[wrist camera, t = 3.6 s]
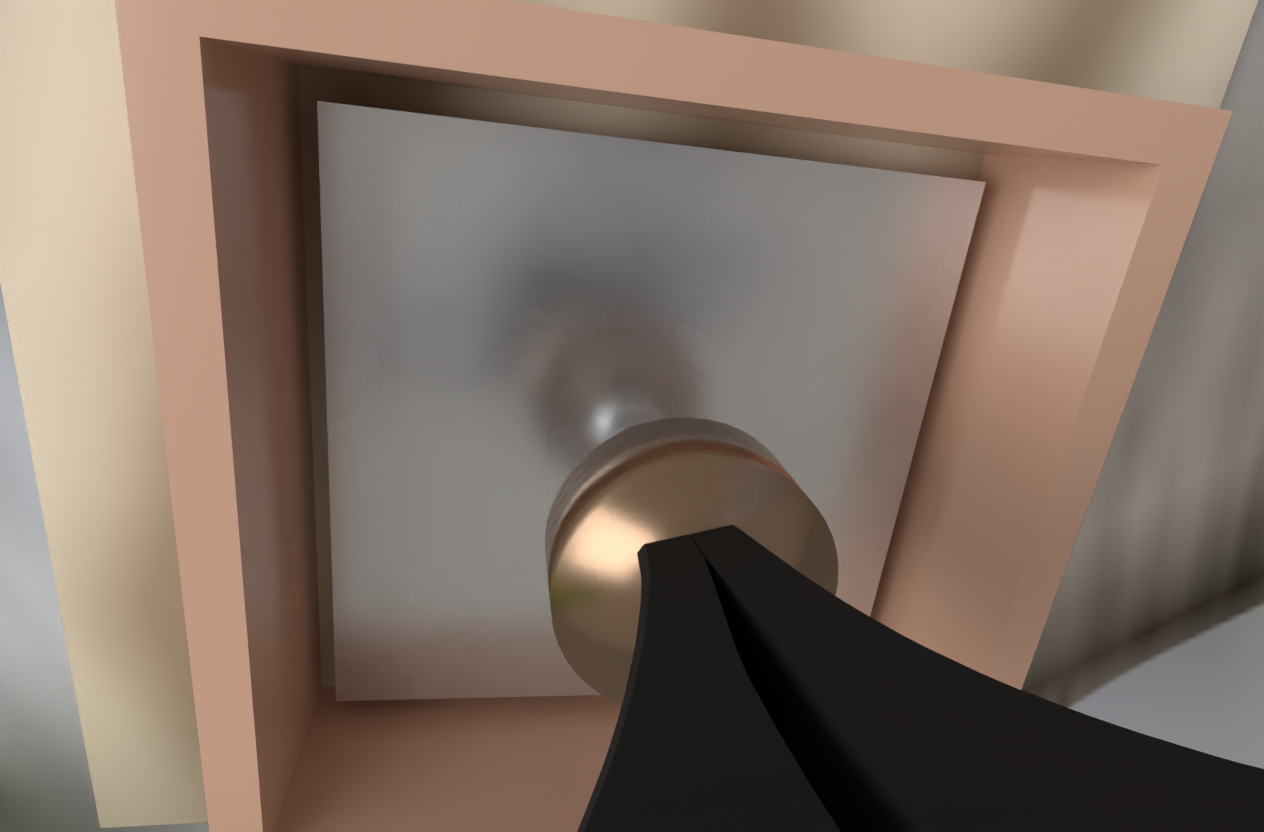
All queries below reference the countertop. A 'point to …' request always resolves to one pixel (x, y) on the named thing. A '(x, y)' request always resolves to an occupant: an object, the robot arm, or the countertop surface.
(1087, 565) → the countertop surface
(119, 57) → the serving board
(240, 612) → the pink square tray
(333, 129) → the square lid with knob
